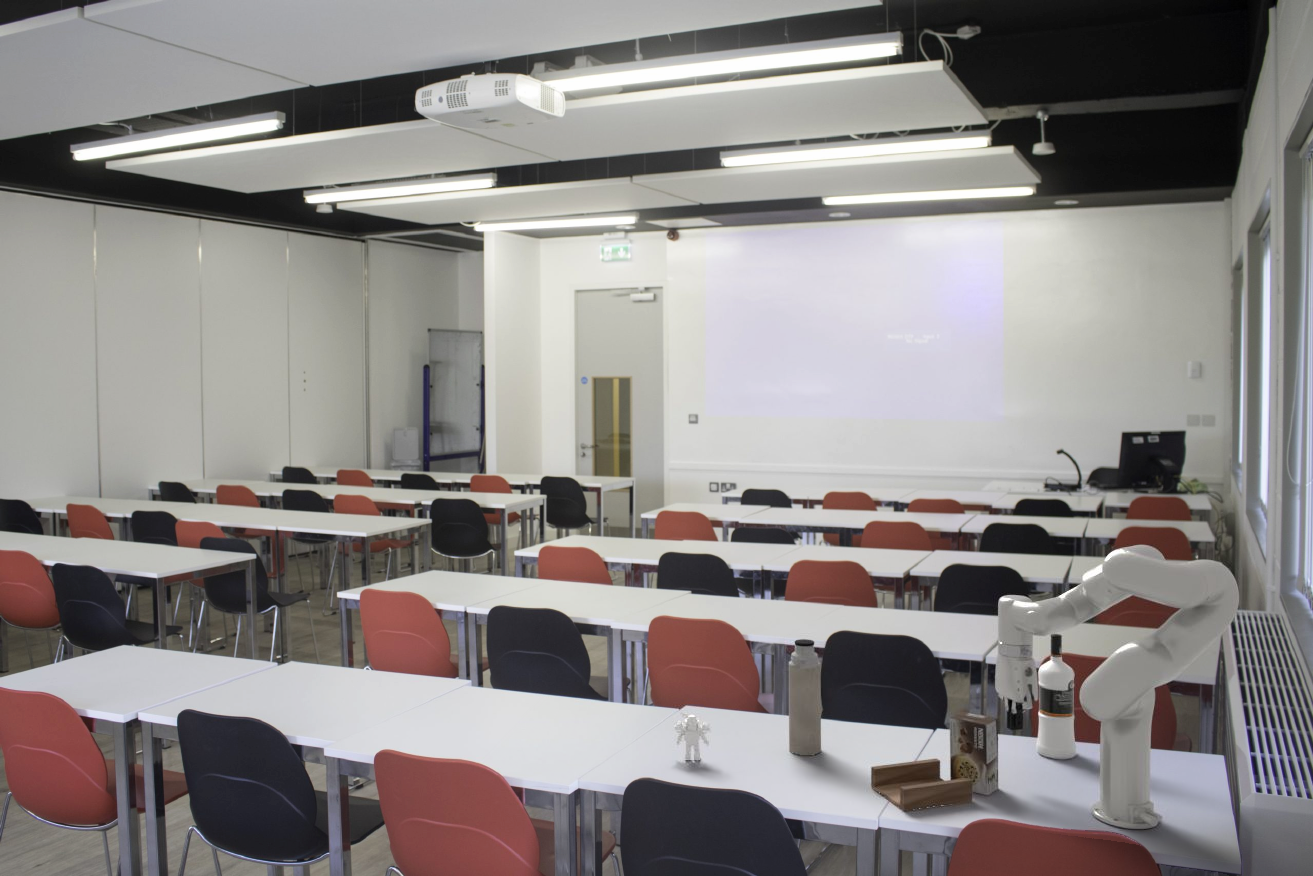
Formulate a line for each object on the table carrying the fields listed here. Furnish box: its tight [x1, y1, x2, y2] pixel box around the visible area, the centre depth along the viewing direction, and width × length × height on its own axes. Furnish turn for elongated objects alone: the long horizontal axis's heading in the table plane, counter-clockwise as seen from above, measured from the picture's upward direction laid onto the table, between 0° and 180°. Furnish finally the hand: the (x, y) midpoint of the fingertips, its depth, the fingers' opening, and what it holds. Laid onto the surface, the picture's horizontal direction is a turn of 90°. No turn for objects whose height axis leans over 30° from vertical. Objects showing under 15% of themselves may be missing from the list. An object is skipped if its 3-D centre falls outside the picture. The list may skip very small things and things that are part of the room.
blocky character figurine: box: [673, 711, 712, 761], centre depth 242 cm, size 9×4×12 cm, turn 80°
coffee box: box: [948, 710, 999, 796], centre depth 222 cm, size 9×6×16 cm
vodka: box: [1035, 633, 1077, 761], centre depth 243 cm, size 9×9×30 cm
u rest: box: [870, 758, 973, 812], centre depth 218 cm, size 14×17×5 cm
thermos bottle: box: [788, 638, 822, 756], centre depth 247 cm, size 8×8×28 cm
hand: (1014, 728), depth 225 cm, fingers closed
